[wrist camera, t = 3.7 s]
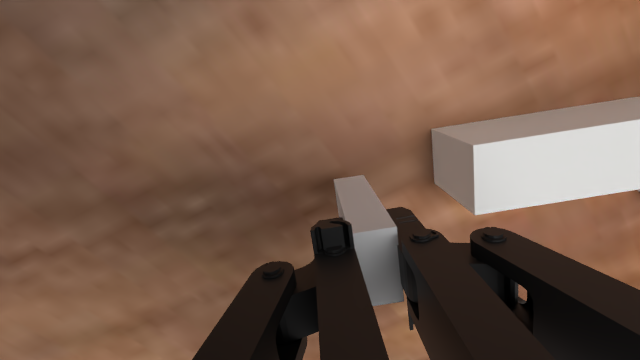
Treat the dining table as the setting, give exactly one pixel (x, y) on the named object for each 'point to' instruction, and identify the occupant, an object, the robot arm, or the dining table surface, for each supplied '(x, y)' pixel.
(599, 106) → the white l-shaped block
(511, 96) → the dining table surface
